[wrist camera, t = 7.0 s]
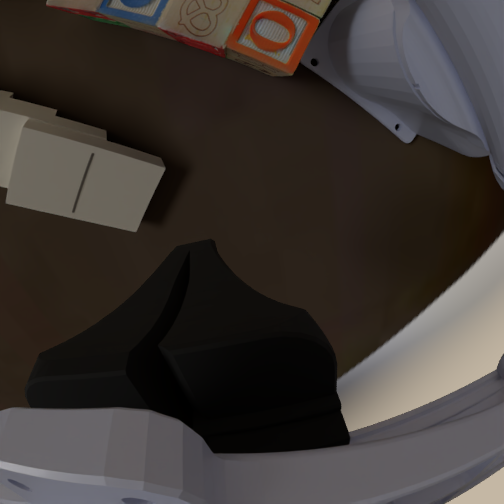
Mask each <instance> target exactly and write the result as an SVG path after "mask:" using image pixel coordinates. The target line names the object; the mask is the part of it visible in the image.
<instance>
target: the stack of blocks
mask: <svg viewBox="0 0 504 504" xmlns="http://www.w3.org/2000/svg"><path fill="white" fill-rule="evenodd" d="M331 1H332V0H47V4H46V5H47V6H49V7H52V8H55V9H59V10H62V11H65V12H69V13H73V14H77V15H80V16H83V17H86V18H88V19H91V20H95V21H100V22H105V23H110V24H115V25H120V26H124V27H129V28H134V29H137V30H140V31H144V32H148V33H151V34H155V35H158V36H162V37H165V38H168V39H172V40H175V41H179V42H181V43H184V44H187V45H189V46H192V47H195V48H199V49H201V50H204V51H207V52H210V53H213V54H215V55H218V56H220V57H223V58H228V59H231V60H234V61H236V62H239V63H241V64H244V65H246V66H249V67H251V68H254V69H256V70H258V71H261V72H263V73H265V74H268V75H270V76H281V77H282V76H292V75H293V73H294V72H295V70H296V68H297V66H298V64H299V62H300V60H301V58H302V56H303V54H304V52H305V50H306V48H307V46H308V45H309V43H310V41H311V39H312V37H313V35H314V33H315V31H316V29H317V27H318V25H319V23H320V19H321V18H322V17H323V15H324V13H325V12H326V10H327V8H328V6H329V4H330V2H331Z"/></svg>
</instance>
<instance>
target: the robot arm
mask: <svg viewBox="0 0 504 504" xmlns="http://www.w3.org/2000/svg"><path fill="white" fill-rule="evenodd" d="M313 58H314V59H316V60H317V65H316V66H312V65H311V59H313ZM300 63H301V64H303V65H304V66H306V67H307V68H309V69H310V70H312V71H313V72H315V73H316V74H318V75H319V76H320V77H322V78H323V79H325V80H326V81H328V82H329V83H330V84H332V85H333V86H335V87H336V88H337V89H339V90H340V91H341V92H343V93H344V94H345V95H347V96H348V97H349V98H351V99H352V100H353V101H355V102H356V103H357V104H358V105H360V106H361V107H362V108H363V109H365V110H366V111H367V112H368V113H370V114H371V115H372V116H373V117H375V118H376V119H377V120H378V121H379V122H381V123H382V124H383V125H384V126H385V127H386V128H388V129H389V130H390V131H391V132H392V133H393V134H395V135H396V136H397V137H398V138H399V139H400V140H401V141H403V142H405V143H410V142H411V141H412V140H413V139H414V137H415V136H416V134H418V135H420V136H423V137H425V138H427V139H430V140H432V141H434V142H437V143H439V144H441V145H443V146H446V147H448V148H450V149H452V150H454V151H456V152H458V153H461V154H463V155H466V156H469V157H483V156H488V155H489V158H490V162H491V166H492V170H493V173H494V176H495V178H496V180H497V182H498V183H499V185H500V186H501V188H502V189H503V190H504V0H339V1H338V2H337V3H336V5H335V6H334V7H333V9H332V10H331V11H330V13H329V14H328V15H327V17H326V18H325V19H324V21H323V22H322V23H321V25H320V26H319V27H318V29H317V30H316V31H315V33H314V35H313V37H312V39H311V41H310V43H309V45H308V46H307V48H306V50H305V52H304V54H303V56H302V58H301V60H300ZM396 124H398V125H399V128H398V130H395V126H396ZM336 385H337V361H336V356H335V353H334V351H333V348H332V346H331V344H330V343H329V341H328V339H327V338H326V336H325V335H324V333H323V331H322V330H321V329H320V327H319V326H318V325H317V323H316V322H315V321H314V319H313V318H312V317H311V316H310V315H309V313H308V312H307V311H306V310H304V309H301V308H298V307H294V306H290V305H287V304H283V303H280V302H277V301H275V300H273V299H270V298H268V297H266V296H264V295H262V294H260V293H259V292H257V291H255V290H254V289H252V288H251V287H250V286H248V285H247V284H246V283H244V282H243V281H242V280H241V279H240V278H238V277H237V276H236V275H235V274H234V273H233V272H232V271H231V269H230V268H229V267H228V266H227V265H226V264H225V262H224V261H223V260H222V258H221V257H220V255H219V254H218V252H217V248H216V244H215V241H213V240H212V239H208V240H203V241H199V242H194V243H189V244H185V245H180V246H177V247H176V248H175V249H174V250H173V251H172V252H171V253H170V254H169V255H168V257H167V258H166V259H165V260H164V261H163V262H162V264H161V265H160V266H159V267H158V268H157V269H156V271H155V272H154V273H153V274H152V275H151V276H150V277H149V278H148V279H147V280H146V282H145V283H144V284H143V285H142V286H141V287H140V288H139V289H138V290H137V291H136V292H135V293H134V294H133V295H132V296H131V297H130V298H128V299H127V300H126V301H125V302H124V303H123V304H121V305H120V306H119V307H118V308H117V309H115V310H114V311H113V312H111V313H110V314H109V315H107V316H106V317H104V318H103V319H102V320H100V321H99V322H98V323H96V324H95V325H93V326H91V327H90V328H88V329H87V330H85V331H83V332H82V333H80V334H78V335H76V336H75V337H73V338H71V339H69V340H67V341H65V342H63V343H61V344H59V345H57V346H55V347H53V348H51V349H49V350H47V351H44V352H42V353H40V354H39V356H38V358H37V361H36V363H35V365H34V368H33V370H32V372H31V375H30V377H29V380H28V382H27V384H26V387H25V397H26V399H27V401H28V403H29V405H30V407H31V408H22V407H15V408H10V409H6V410H2V411H0V504H445V503H447V502H449V501H451V500H452V499H454V498H456V497H458V496H459V495H461V494H463V493H464V492H466V491H468V490H469V489H471V488H473V487H474V486H475V485H477V484H479V483H480V482H482V481H484V480H485V479H486V478H488V477H490V476H491V475H492V474H494V473H495V472H497V471H498V470H500V469H501V468H502V467H504V354H503V356H502V357H501V359H500V361H499V364H498V366H497V369H496V370H495V371H493V372H491V373H489V374H487V375H486V376H484V377H482V378H480V379H478V380H476V381H474V382H472V383H471V384H469V385H467V386H465V387H463V388H461V389H459V390H457V391H455V392H452V393H450V394H448V395H446V396H444V397H442V398H440V399H437V400H435V401H433V402H430V403H428V404H426V405H423V406H421V407H419V408H416V409H414V410H411V411H409V412H406V413H404V414H401V415H398V416H396V417H393V418H390V419H388V420H385V421H382V422H379V423H377V424H373V425H371V426H367V427H364V428H361V429H358V430H355V431H352V432H348V429H347V426H346V424H345V421H344V418H343V415H342V413H341V402H340V399H339V397H338V394H337V391H336V387H337V386H336Z"/></svg>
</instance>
